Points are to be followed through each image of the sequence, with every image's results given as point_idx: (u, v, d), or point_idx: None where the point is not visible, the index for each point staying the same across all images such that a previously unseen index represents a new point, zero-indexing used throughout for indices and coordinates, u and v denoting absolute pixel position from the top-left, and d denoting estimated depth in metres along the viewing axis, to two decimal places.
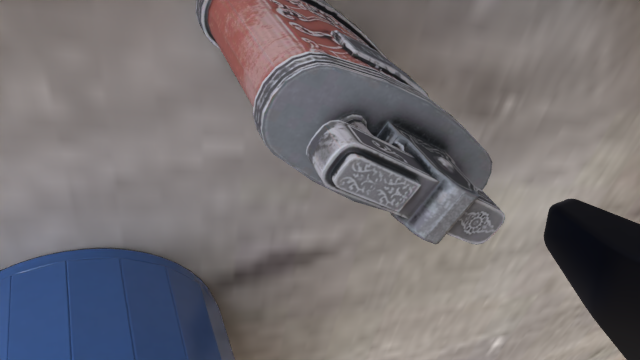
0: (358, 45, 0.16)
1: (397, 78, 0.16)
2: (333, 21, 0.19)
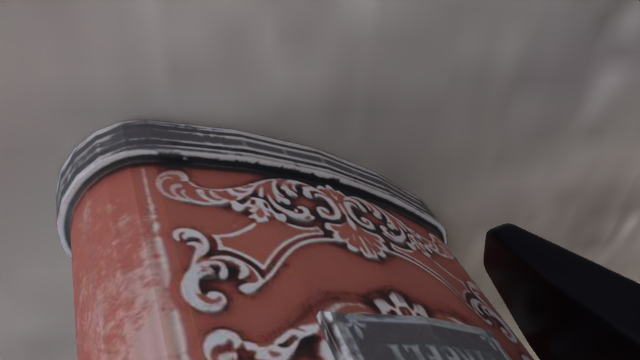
0: (384, 350, 0.07)
1: None
2: (330, 213, 0.09)
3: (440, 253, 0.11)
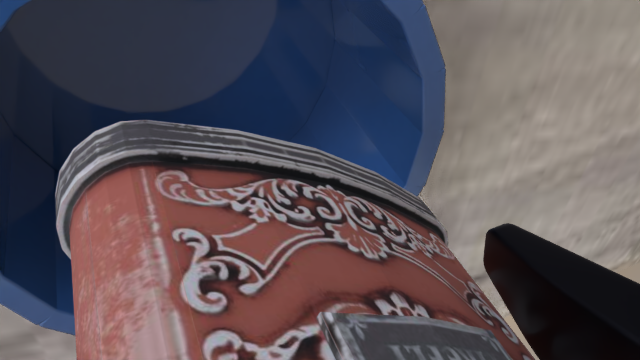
0: (385, 351, 0.07)
1: None
2: (331, 213, 0.09)
3: (441, 253, 0.11)
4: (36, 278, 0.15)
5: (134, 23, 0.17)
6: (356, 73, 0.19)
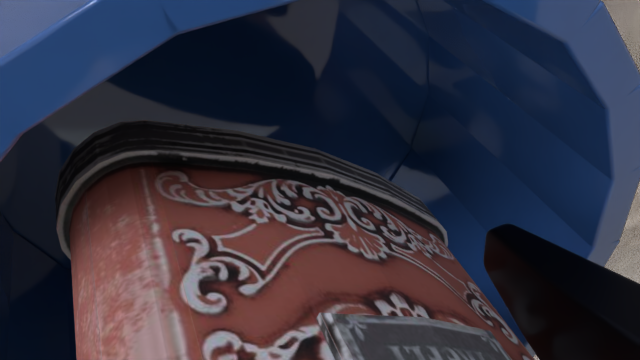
0: (385, 352, 0.07)
1: None
2: (331, 214, 0.09)
3: (441, 254, 0.11)
4: None
5: (177, 84, 0.13)
6: (465, 143, 0.14)
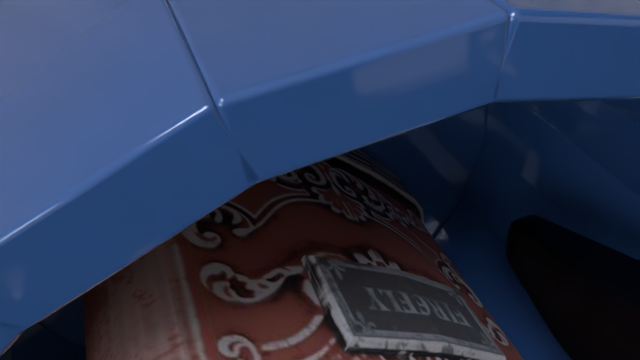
0: (361, 291, 0.07)
1: (446, 357, 0.08)
2: (317, 179, 0.10)
3: (416, 226, 0.12)
4: None
5: None
6: (533, 203, 0.12)
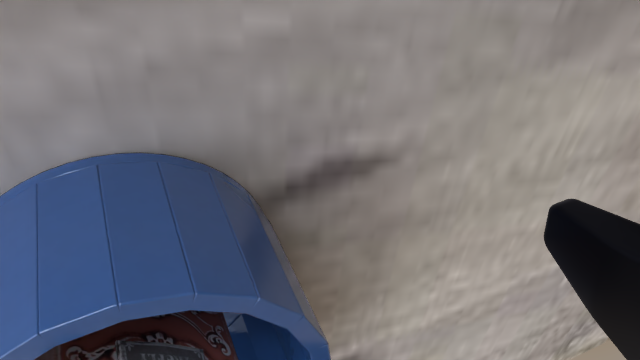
0: (137, 355, 0.18)
1: None
2: None
3: None
4: None
5: None
6: None
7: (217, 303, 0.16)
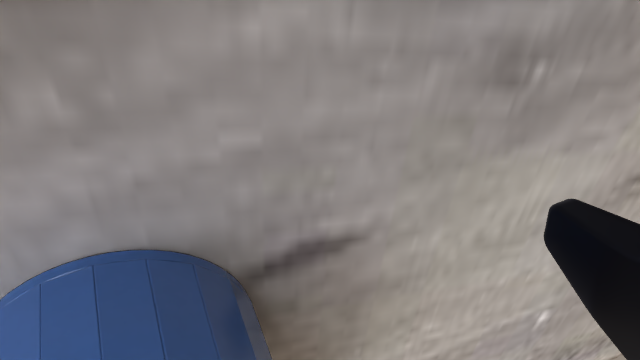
0: None
1: None
2: None
3: None
4: None
5: None
6: None
7: None
